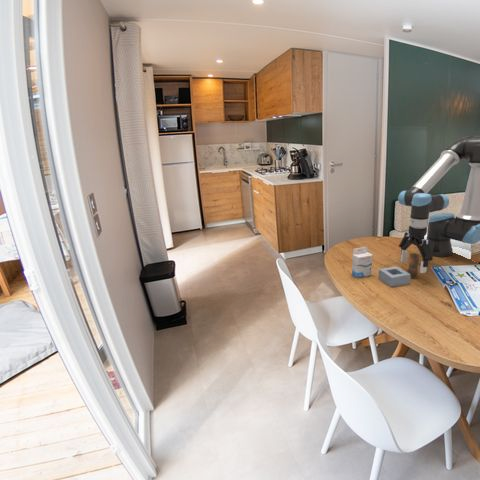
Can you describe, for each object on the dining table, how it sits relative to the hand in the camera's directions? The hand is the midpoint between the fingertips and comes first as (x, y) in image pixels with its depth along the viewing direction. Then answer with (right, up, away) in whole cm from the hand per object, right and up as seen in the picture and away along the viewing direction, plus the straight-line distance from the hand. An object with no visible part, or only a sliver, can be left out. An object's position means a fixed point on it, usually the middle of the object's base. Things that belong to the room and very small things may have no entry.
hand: (412, 266), depth 150 cm
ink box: (-22, -5, +8) cm, 24 cm away
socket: (-10, -7, 0) cm, 12 cm away
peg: (+1, -5, +2) cm, 6 cm away
